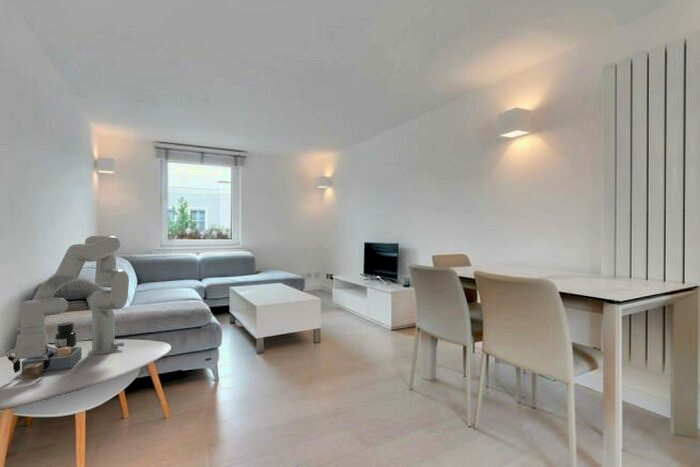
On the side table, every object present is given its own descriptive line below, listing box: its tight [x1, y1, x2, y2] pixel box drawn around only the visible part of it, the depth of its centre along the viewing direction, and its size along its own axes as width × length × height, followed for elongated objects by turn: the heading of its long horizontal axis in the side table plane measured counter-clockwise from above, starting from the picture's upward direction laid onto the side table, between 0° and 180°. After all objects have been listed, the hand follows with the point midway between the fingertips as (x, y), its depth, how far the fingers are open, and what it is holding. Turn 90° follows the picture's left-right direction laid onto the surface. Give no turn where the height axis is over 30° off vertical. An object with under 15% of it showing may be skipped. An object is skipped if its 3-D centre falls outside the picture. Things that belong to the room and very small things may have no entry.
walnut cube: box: [22, 363, 44, 381], centre depth 150 cm, size 5×5×5 cm
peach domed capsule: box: [57, 346, 72, 357], centre depth 164 cm, size 5×5×7 cm
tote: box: [21, 346, 82, 375], centre depth 162 cm, size 17×14×6 cm
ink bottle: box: [54, 321, 77, 348], centre depth 190 cm, size 10×9×12 cm
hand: (31, 370), depth 149 cm, fingers open, 9 cm apart
